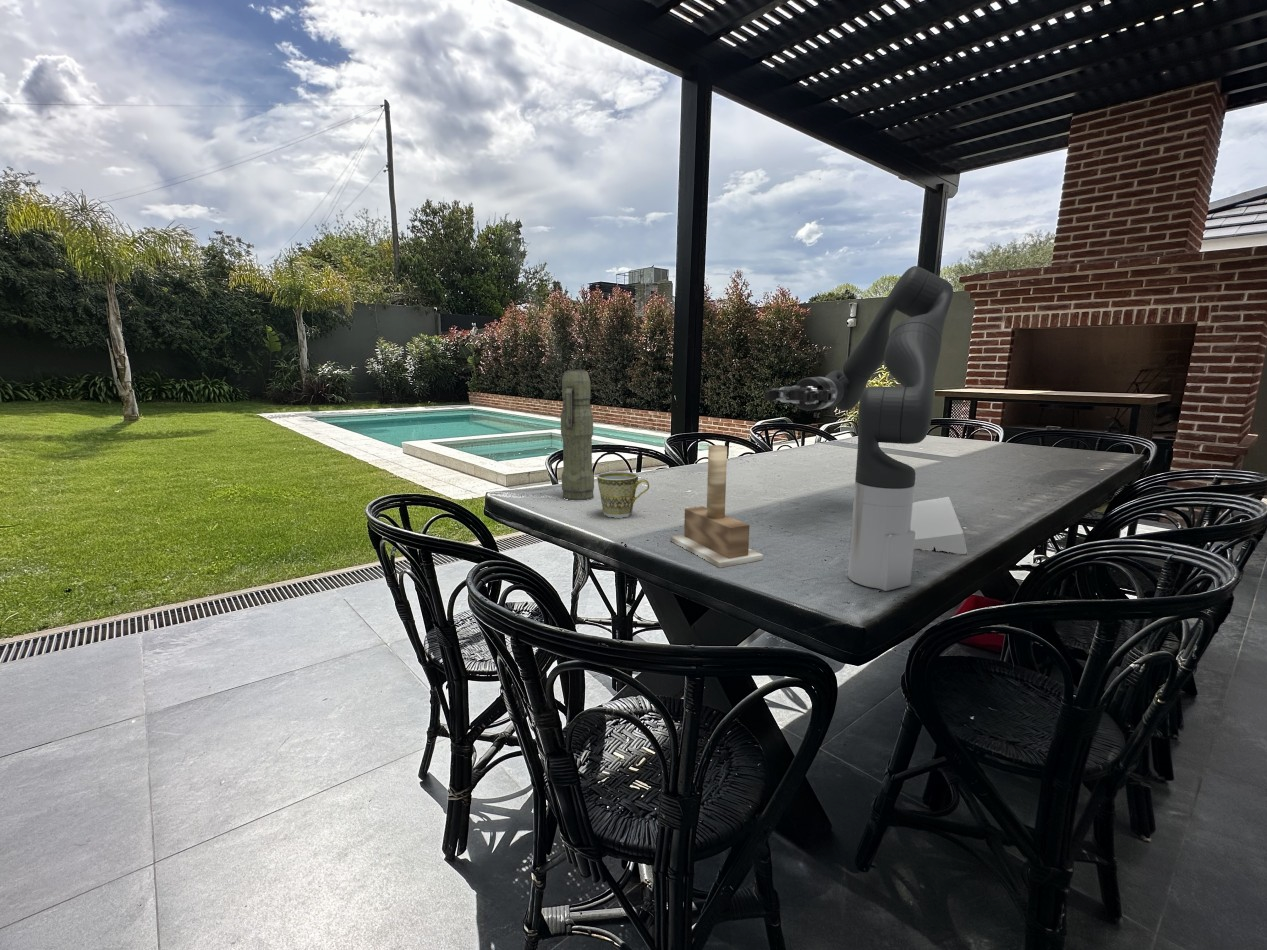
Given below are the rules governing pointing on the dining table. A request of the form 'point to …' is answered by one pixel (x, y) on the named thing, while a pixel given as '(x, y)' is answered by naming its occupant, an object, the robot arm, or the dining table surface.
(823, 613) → the dining table surface
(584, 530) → the dining table surface
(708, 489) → the dowel
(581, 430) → the thermos
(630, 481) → the ceramic cup
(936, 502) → the decorative molding
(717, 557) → the stand
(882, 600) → the dining table surface
